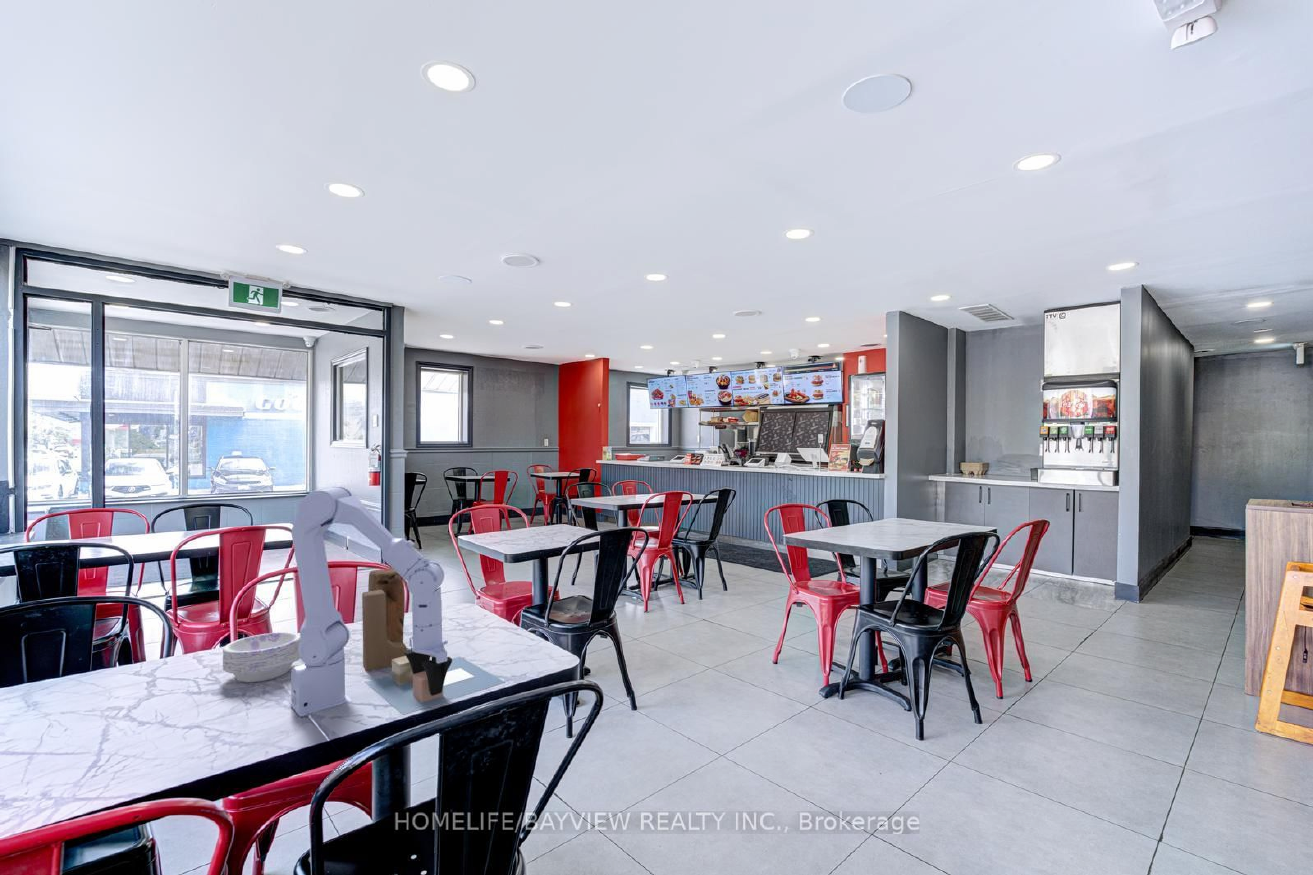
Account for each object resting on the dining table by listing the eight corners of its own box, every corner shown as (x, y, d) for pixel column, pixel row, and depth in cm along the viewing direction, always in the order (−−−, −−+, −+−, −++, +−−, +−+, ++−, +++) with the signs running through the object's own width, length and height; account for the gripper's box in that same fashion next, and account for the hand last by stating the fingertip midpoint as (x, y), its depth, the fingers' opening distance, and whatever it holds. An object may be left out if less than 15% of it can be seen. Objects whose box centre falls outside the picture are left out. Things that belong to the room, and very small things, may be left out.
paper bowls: (283, 658, 151) (282, 626, 151) (314, 671, 142) (313, 637, 142) (211, 679, 138) (210, 644, 138) (240, 694, 129) (240, 657, 129)
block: (366, 645, 159) (365, 569, 159) (396, 639, 164) (395, 565, 164) (377, 657, 150) (375, 576, 150) (408, 650, 155) (407, 572, 155)
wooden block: (403, 659, 149) (402, 586, 148) (407, 665, 145) (406, 590, 145) (362, 668, 143) (361, 592, 143) (366, 674, 140) (365, 596, 140)
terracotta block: (421, 702, 123) (421, 680, 123) (413, 696, 126) (412, 674, 126) (443, 696, 126) (443, 674, 126) (434, 689, 129) (434, 668, 129)
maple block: (399, 685, 131) (399, 664, 131) (392, 679, 135) (391, 659, 135) (420, 679, 135) (419, 659, 135) (412, 674, 138) (412, 654, 138)
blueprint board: (403, 717, 117) (403, 714, 117) (365, 684, 134) (365, 681, 134) (505, 684, 133) (505, 681, 133) (460, 658, 149) (460, 656, 149)
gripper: (461, 626, 123) (462, 692, 123) (431, 611, 134) (432, 673, 134) (426, 634, 118) (428, 703, 119) (399, 618, 129) (400, 682, 129)
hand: (428, 688), depth 126 cm, fingers open, 7 cm apart
